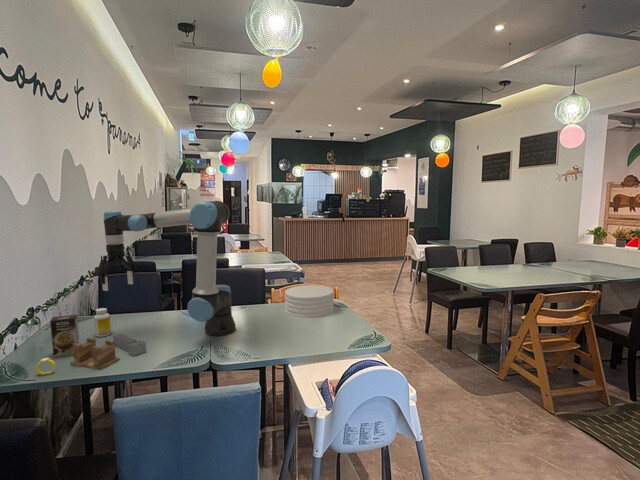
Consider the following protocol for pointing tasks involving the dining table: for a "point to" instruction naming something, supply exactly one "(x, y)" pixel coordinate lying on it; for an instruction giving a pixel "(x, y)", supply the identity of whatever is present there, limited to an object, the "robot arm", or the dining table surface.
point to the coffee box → (64, 334)
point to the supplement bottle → (102, 323)
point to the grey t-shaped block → (129, 344)
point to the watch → (45, 361)
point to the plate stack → (309, 301)
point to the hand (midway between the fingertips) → (118, 287)
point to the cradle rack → (94, 354)
